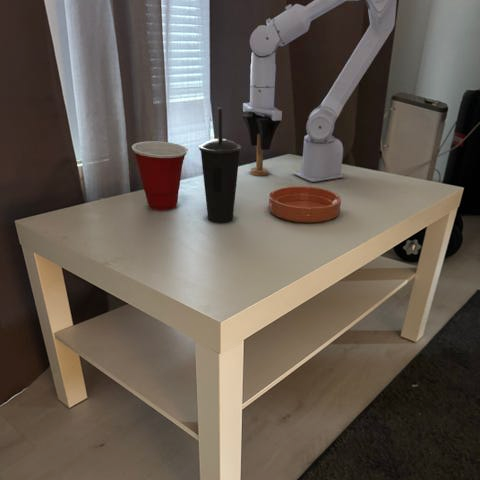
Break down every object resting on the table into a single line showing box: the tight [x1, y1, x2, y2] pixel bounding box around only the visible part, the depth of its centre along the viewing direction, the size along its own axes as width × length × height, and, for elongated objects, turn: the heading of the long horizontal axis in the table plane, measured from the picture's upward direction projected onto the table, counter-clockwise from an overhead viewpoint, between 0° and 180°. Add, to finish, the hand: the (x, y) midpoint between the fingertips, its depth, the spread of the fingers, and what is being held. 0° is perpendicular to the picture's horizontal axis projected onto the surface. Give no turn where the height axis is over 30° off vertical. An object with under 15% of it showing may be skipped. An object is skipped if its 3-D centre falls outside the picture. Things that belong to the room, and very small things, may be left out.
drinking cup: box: [198, 107, 242, 224], centre depth 89 cm, size 8×8×20 cm
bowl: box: [268, 185, 342, 224], centre depth 97 cm, size 14×14×3 cm
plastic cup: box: [131, 140, 188, 211], centre depth 97 cm, size 11×11×12 cm
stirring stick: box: [250, 133, 269, 177], centre depth 120 cm, size 4×4×10 cm
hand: (260, 147), depth 119 cm, fingers open, 4 cm apart
